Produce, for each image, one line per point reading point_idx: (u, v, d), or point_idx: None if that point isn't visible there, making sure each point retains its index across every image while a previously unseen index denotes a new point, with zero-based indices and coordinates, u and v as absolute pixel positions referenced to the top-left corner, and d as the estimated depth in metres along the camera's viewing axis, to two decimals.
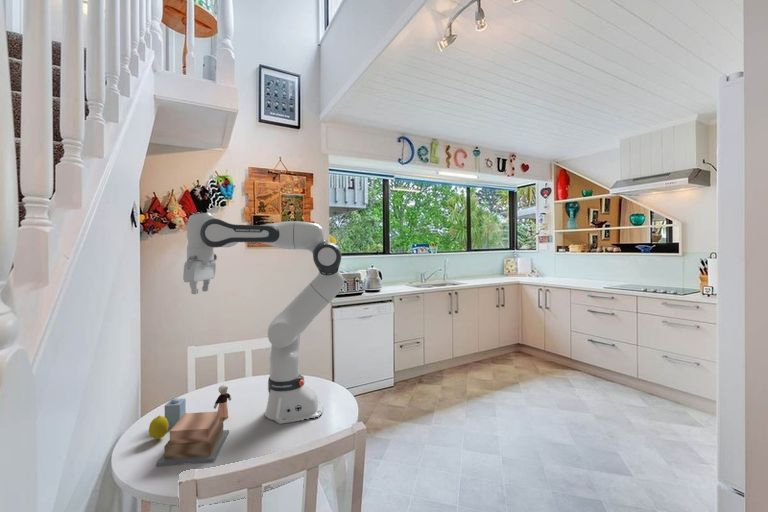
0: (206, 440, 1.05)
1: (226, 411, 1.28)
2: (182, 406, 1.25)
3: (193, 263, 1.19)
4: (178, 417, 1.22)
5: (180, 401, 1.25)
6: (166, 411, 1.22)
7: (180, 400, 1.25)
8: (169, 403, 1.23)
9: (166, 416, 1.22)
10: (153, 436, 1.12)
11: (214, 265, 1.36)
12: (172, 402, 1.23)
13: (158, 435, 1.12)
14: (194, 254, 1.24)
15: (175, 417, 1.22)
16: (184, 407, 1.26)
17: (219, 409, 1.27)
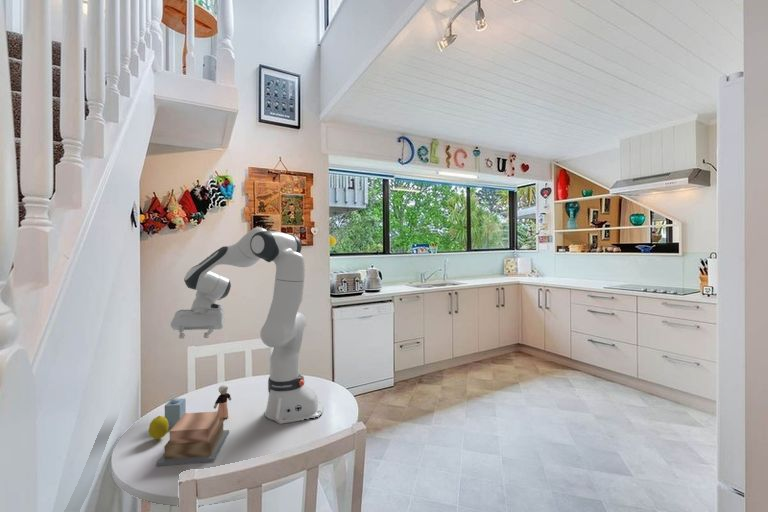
0: (206, 440, 1.05)
1: (226, 411, 1.28)
2: (182, 406, 1.25)
3: None
4: (178, 417, 1.22)
5: (180, 401, 1.25)
6: (166, 411, 1.22)
7: (180, 400, 1.25)
8: (169, 403, 1.23)
9: (166, 416, 1.22)
10: (153, 436, 1.12)
11: (218, 314, 1.47)
12: (172, 402, 1.23)
13: (158, 435, 1.12)
14: None
15: (175, 417, 1.22)
16: (184, 407, 1.26)
17: (219, 409, 1.27)
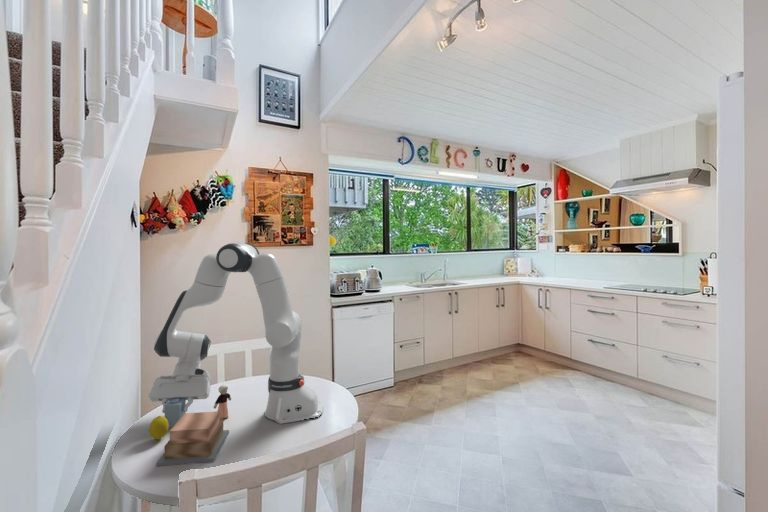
0: (206, 440, 1.05)
1: (226, 411, 1.28)
2: None
3: None
4: (178, 417, 1.22)
5: (180, 401, 1.25)
6: (166, 411, 1.22)
7: (180, 400, 1.25)
8: (169, 403, 1.23)
9: (166, 416, 1.22)
10: (153, 436, 1.12)
11: (203, 381, 1.30)
12: (172, 402, 1.23)
13: (158, 435, 1.12)
14: None
15: (175, 417, 1.22)
16: None
17: (219, 409, 1.27)
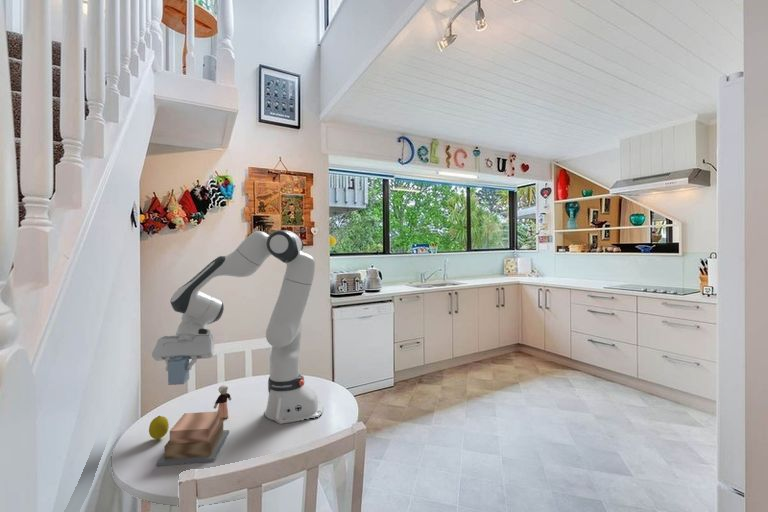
0: (206, 440, 1.05)
1: (226, 411, 1.28)
2: None
3: None
4: (182, 374, 1.20)
5: (184, 359, 1.22)
6: (169, 368, 1.19)
7: (184, 358, 1.23)
8: (172, 360, 1.21)
9: (170, 373, 1.19)
10: (153, 436, 1.12)
11: (207, 340, 1.28)
12: (175, 359, 1.21)
13: (158, 435, 1.12)
14: None
15: (179, 374, 1.20)
16: None
17: (219, 409, 1.27)
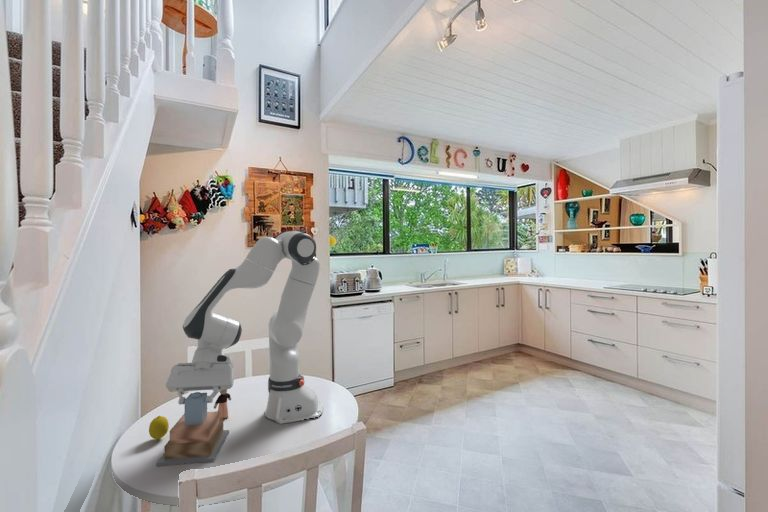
0: (206, 440, 1.05)
1: (226, 411, 1.28)
2: (204, 401, 1.10)
3: None
4: (200, 413, 1.07)
5: (201, 395, 1.10)
6: (186, 407, 1.07)
7: (201, 394, 1.10)
8: (189, 397, 1.08)
9: (186, 412, 1.07)
10: (153, 436, 1.12)
11: (227, 369, 1.15)
12: (193, 396, 1.08)
13: (158, 435, 1.12)
14: None
15: (197, 414, 1.07)
16: (206, 402, 1.11)
17: (219, 409, 1.27)
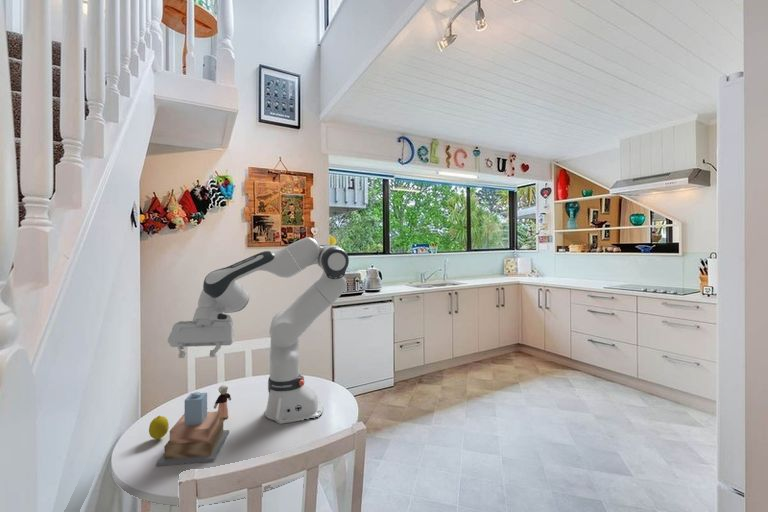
0: (206, 440, 1.05)
1: (226, 411, 1.28)
2: (204, 401, 1.10)
3: None
4: (200, 413, 1.07)
5: (201, 395, 1.10)
6: (186, 407, 1.07)
7: (201, 394, 1.10)
8: (189, 397, 1.08)
9: (186, 412, 1.07)
10: (153, 436, 1.12)
11: (227, 326, 1.19)
12: (193, 396, 1.08)
13: (158, 435, 1.12)
14: None
15: (197, 414, 1.07)
16: (206, 402, 1.11)
17: (219, 409, 1.27)
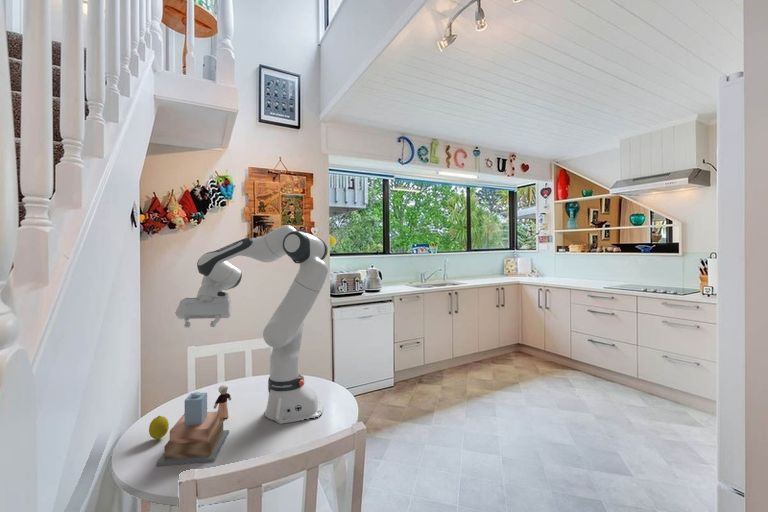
0: (206, 440, 1.05)
1: (226, 411, 1.28)
2: (204, 401, 1.10)
3: None
4: (200, 413, 1.07)
5: (201, 395, 1.10)
6: (186, 407, 1.07)
7: (201, 394, 1.10)
8: (189, 397, 1.08)
9: (186, 412, 1.07)
10: (153, 436, 1.12)
11: (225, 302, 1.40)
12: (193, 396, 1.08)
13: (158, 435, 1.12)
14: None
15: (197, 414, 1.07)
16: (206, 402, 1.11)
17: (219, 409, 1.27)
